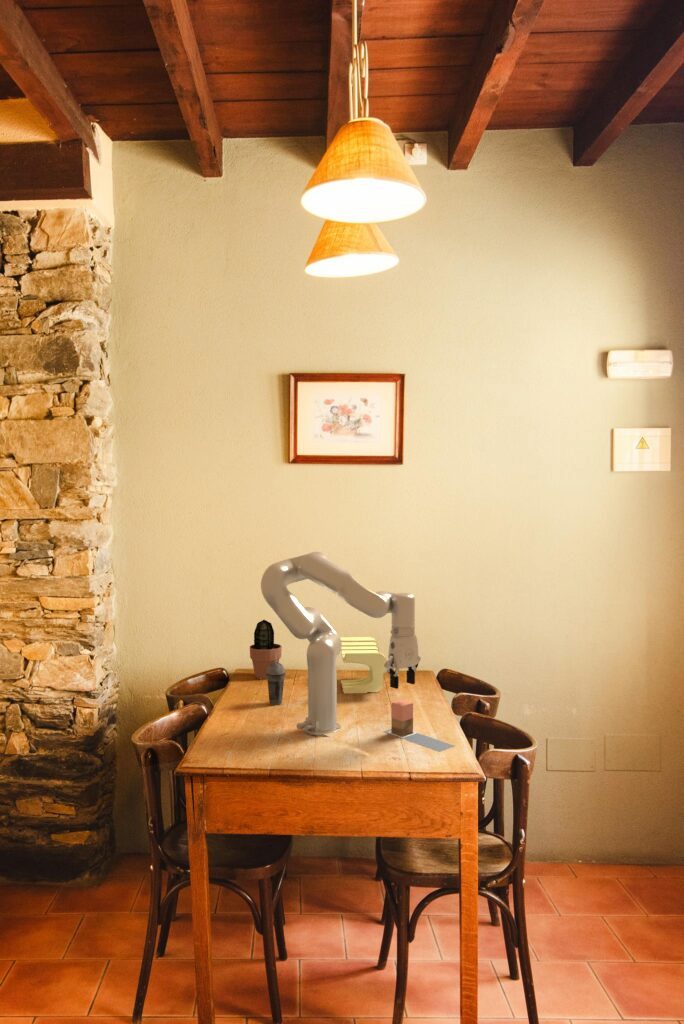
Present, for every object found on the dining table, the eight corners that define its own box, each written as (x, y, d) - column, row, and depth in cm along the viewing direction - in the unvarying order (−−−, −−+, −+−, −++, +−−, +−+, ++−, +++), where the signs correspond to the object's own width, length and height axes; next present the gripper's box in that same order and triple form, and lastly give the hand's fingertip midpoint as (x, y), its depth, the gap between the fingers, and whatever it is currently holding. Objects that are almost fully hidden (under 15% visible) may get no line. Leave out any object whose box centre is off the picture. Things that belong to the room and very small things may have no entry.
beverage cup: (285, 700, 273) (286, 648, 272) (284, 706, 266) (285, 653, 265) (266, 700, 273) (266, 648, 272) (265, 706, 265) (265, 653, 265)
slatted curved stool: (386, 698, 276) (386, 652, 276) (345, 699, 275) (345, 653, 275) (377, 678, 306) (377, 636, 306) (339, 678, 305) (340, 637, 305)
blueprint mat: (439, 755, 218) (439, 751, 218) (383, 734, 236) (383, 731, 236) (455, 749, 223) (455, 745, 223) (399, 729, 241) (399, 726, 241)
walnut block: (402, 736, 231) (402, 721, 231) (391, 732, 235) (391, 717, 235) (413, 733, 234) (413, 718, 234) (401, 729, 238) (401, 714, 238)
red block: (402, 721, 231) (402, 705, 231) (391, 717, 235) (391, 702, 235) (413, 718, 234) (413, 702, 234) (401, 714, 238) (402, 699, 238)
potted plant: (287, 675, 310) (288, 618, 309) (268, 682, 298) (268, 623, 298) (263, 671, 317) (263, 615, 316) (243, 678, 306) (243, 619, 305)
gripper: (392, 636, 225) (392, 693, 226) (429, 629, 237) (428, 683, 237) (375, 633, 231) (375, 688, 231) (412, 626, 242) (412, 678, 243)
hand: (402, 685), depth 234 cm, fingers open, 7 cm apart
